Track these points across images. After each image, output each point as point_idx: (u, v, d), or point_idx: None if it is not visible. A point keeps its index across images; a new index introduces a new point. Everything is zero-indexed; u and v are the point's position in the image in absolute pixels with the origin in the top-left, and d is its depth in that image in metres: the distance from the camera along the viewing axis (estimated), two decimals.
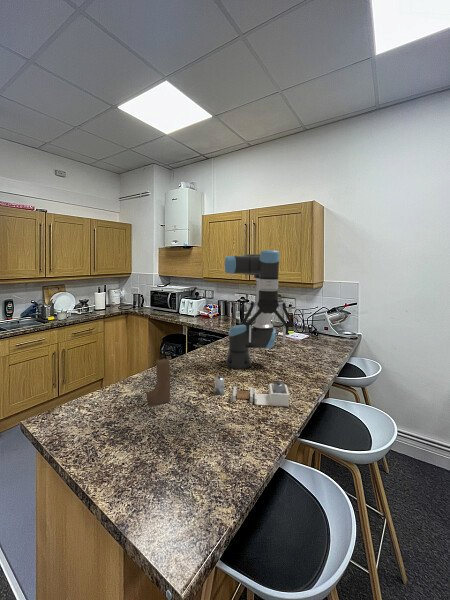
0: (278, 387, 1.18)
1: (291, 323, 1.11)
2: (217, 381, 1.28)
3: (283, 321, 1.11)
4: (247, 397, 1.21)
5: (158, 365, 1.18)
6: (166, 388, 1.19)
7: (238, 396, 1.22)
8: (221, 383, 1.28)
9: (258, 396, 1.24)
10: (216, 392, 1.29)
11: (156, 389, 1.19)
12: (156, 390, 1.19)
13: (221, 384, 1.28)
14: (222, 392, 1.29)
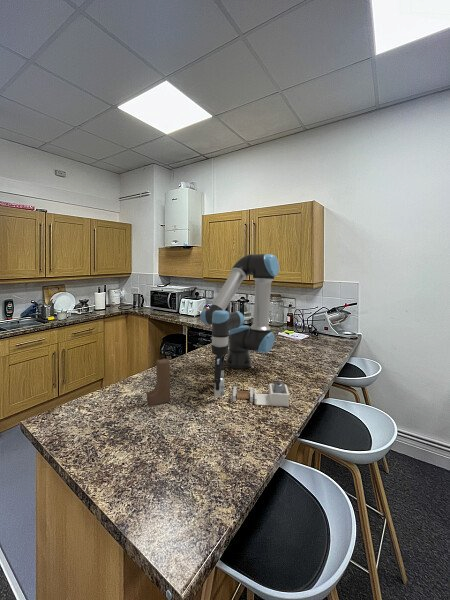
0: (278, 387, 1.18)
1: (214, 380, 1.20)
2: None
3: None
4: (247, 397, 1.21)
5: (158, 365, 1.18)
6: (166, 388, 1.19)
7: (238, 396, 1.22)
8: (221, 383, 1.28)
9: (258, 396, 1.24)
10: None
11: (156, 389, 1.19)
12: (156, 390, 1.19)
13: (221, 384, 1.28)
14: (222, 392, 1.29)
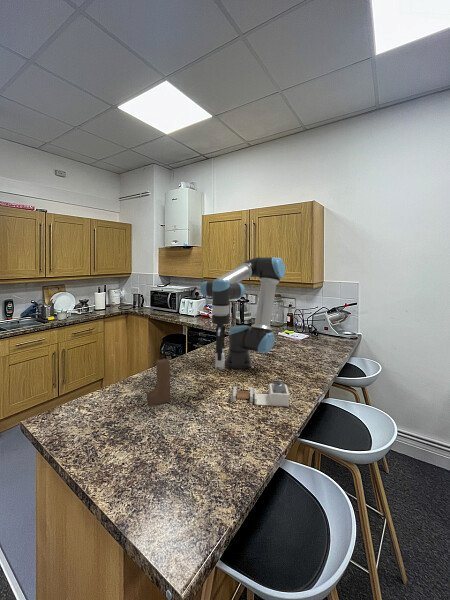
0: (278, 387, 1.18)
1: (216, 350, 1.22)
2: None
3: None
4: (247, 397, 1.21)
5: (158, 365, 1.18)
6: (166, 388, 1.19)
7: (238, 396, 1.22)
8: None
9: (258, 396, 1.24)
10: (216, 367, 1.27)
11: (156, 389, 1.19)
12: (156, 390, 1.19)
13: None
14: (222, 367, 1.27)
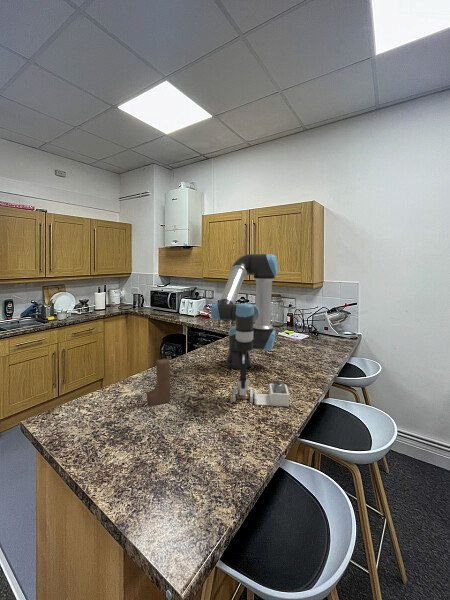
0: (278, 387, 1.18)
1: (240, 378, 1.17)
2: None
3: None
4: None
5: (158, 365, 1.18)
6: (166, 388, 1.19)
7: None
8: None
9: (258, 396, 1.24)
10: (239, 394, 1.21)
11: (156, 389, 1.19)
12: (156, 390, 1.19)
13: None
14: (246, 394, 1.21)
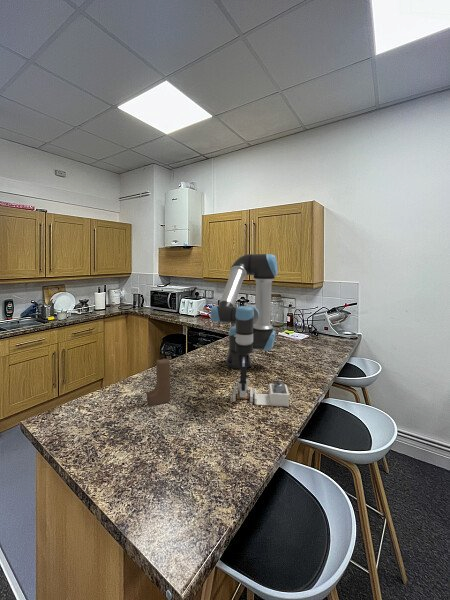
0: (278, 387, 1.18)
1: (240, 381, 1.17)
2: None
3: None
4: None
5: (158, 365, 1.18)
6: (166, 388, 1.19)
7: None
8: None
9: (258, 396, 1.24)
10: (239, 394, 1.22)
11: (156, 389, 1.19)
12: (156, 390, 1.19)
13: None
14: (246, 394, 1.22)
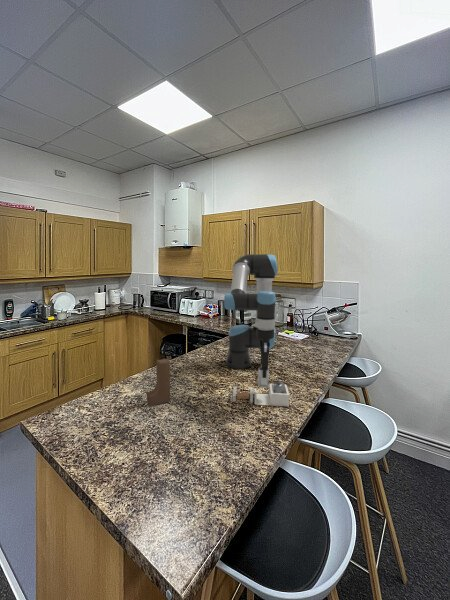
0: (278, 387, 1.18)
1: None
2: None
3: None
4: None
5: (158, 365, 1.18)
6: (166, 388, 1.19)
7: None
8: None
9: (258, 396, 1.24)
10: (260, 384, 1.19)
11: (156, 389, 1.19)
12: (156, 390, 1.19)
13: None
14: None
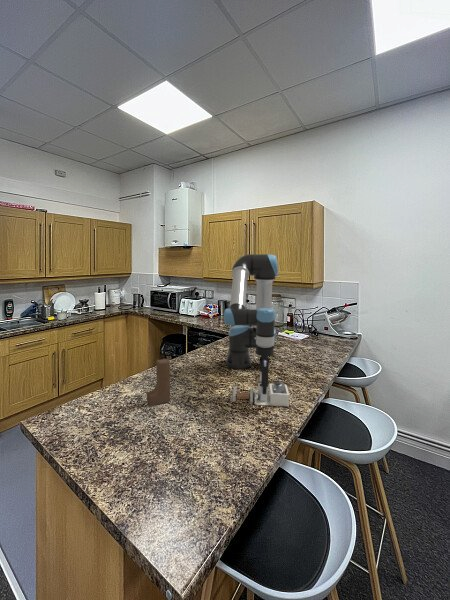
0: (278, 387, 1.18)
1: None
2: None
3: None
4: None
5: (158, 365, 1.18)
6: (166, 388, 1.19)
7: None
8: None
9: None
10: (259, 399, 1.20)
11: (156, 389, 1.19)
12: (156, 390, 1.19)
13: None
14: None
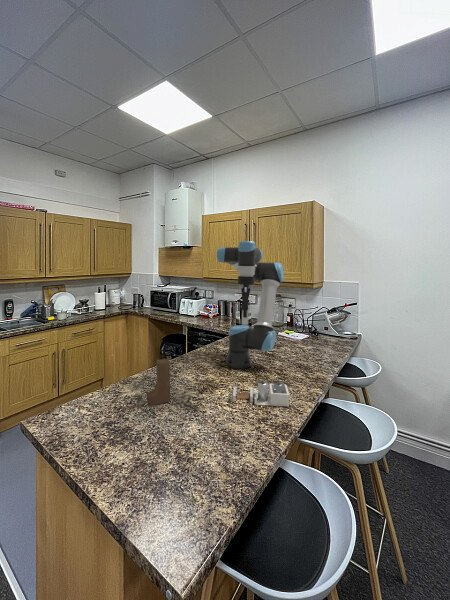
0: (278, 387, 1.18)
1: (242, 306, 1.21)
2: (261, 387, 1.19)
3: None
4: None
5: (158, 365, 1.18)
6: (166, 388, 1.19)
7: None
8: (265, 389, 1.19)
9: None
10: (259, 399, 1.20)
11: (156, 389, 1.19)
12: (156, 390, 1.19)
13: (265, 390, 1.19)
14: (266, 399, 1.20)
